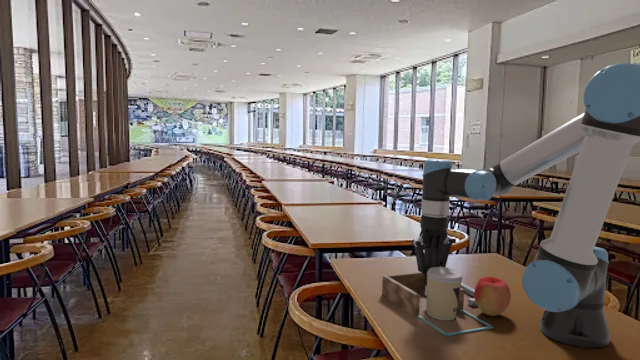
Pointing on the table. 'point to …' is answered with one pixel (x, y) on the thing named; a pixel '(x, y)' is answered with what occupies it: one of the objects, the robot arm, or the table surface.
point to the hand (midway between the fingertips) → (429, 296)
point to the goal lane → (460, 331)
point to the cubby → (408, 291)
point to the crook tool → (470, 292)
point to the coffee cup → (443, 292)
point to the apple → (492, 295)
